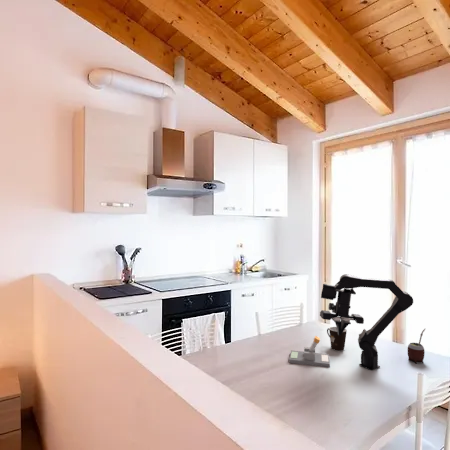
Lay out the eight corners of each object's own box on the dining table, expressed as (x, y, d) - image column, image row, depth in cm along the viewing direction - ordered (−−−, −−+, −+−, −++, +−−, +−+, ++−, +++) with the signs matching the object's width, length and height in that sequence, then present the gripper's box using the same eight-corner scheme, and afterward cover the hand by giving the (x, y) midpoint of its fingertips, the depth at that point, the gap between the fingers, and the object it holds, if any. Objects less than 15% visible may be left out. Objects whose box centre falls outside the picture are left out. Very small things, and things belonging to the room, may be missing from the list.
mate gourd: (407, 362, 164) (407, 330, 164) (407, 356, 171) (408, 326, 171) (425, 365, 161) (426, 333, 160) (425, 359, 168) (425, 328, 167)
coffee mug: (348, 351, 177) (349, 332, 176) (331, 351, 177) (331, 331, 177) (341, 343, 188) (341, 325, 188) (325, 343, 188) (325, 325, 188)
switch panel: (328, 357, 169) (329, 348, 169) (329, 367, 157) (329, 357, 157) (291, 353, 174) (291, 344, 174) (289, 362, 162) (289, 353, 162)
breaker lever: (310, 355, 167) (319, 338, 166) (310, 358, 164) (319, 340, 163) (306, 352, 168) (315, 335, 166) (306, 355, 164) (315, 338, 163)
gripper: (357, 300, 170) (353, 331, 170) (318, 295, 170) (314, 327, 171) (366, 306, 159) (361, 339, 159) (325, 301, 159) (320, 335, 159)
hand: (339, 335), depth 162 cm, fingers closed
